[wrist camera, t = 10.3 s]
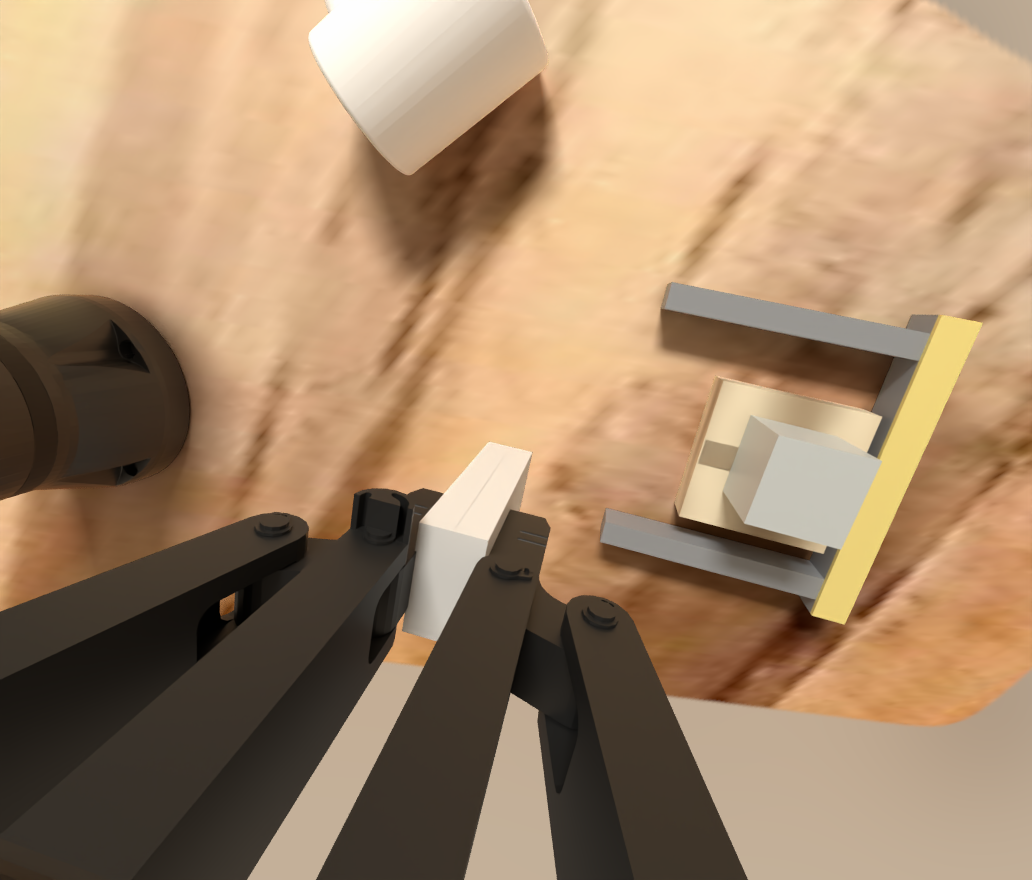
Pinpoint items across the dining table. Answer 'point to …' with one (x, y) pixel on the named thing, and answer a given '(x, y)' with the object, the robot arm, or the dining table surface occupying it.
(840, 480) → the light grey cube
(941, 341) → the dock
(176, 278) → the dining table surface
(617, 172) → the dining table surface
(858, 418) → the pallet
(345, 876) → the robot arm
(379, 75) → the mug
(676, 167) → the dining table surface
